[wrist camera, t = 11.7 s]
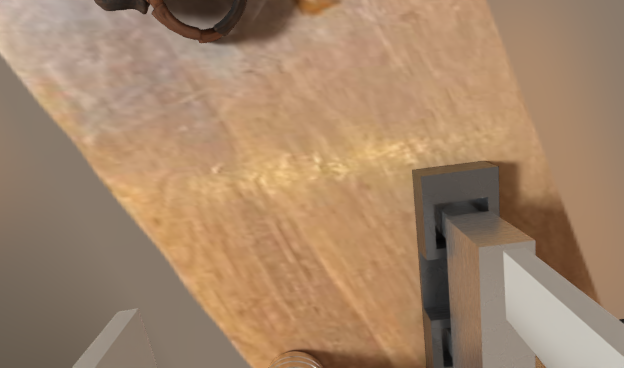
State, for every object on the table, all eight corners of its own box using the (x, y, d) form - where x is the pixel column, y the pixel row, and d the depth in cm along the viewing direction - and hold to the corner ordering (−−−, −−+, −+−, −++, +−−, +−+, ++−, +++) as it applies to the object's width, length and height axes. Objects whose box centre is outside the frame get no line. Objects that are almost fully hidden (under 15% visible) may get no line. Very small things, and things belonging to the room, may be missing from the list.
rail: (412, 170, 38) (420, 176, 35) (483, 160, 38) (498, 166, 35) (426, 371, 43) (435, 391, 40) (489, 363, 43) (502, 383, 40)
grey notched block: (431, 204, 38) (478, 247, 28) (471, 198, 38) (535, 240, 27) (439, 345, 42) (485, 432, 31) (477, 341, 42) (535, 427, 31)
